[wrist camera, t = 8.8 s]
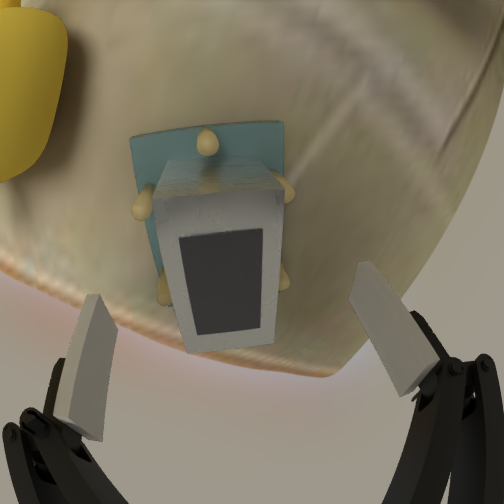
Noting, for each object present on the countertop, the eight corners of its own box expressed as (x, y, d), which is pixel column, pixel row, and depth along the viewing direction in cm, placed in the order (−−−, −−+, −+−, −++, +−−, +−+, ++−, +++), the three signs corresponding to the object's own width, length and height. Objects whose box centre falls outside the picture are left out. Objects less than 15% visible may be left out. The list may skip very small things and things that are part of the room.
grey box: (167, 161, 17) (150, 200, 11) (255, 154, 18) (285, 189, 12) (186, 288, 23) (186, 354, 17) (254, 280, 24) (273, 344, 18)
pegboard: (133, 136, 16) (114, 149, 13) (278, 120, 18) (300, 129, 14) (169, 298, 25) (166, 335, 21) (276, 283, 26) (290, 318, 22)
